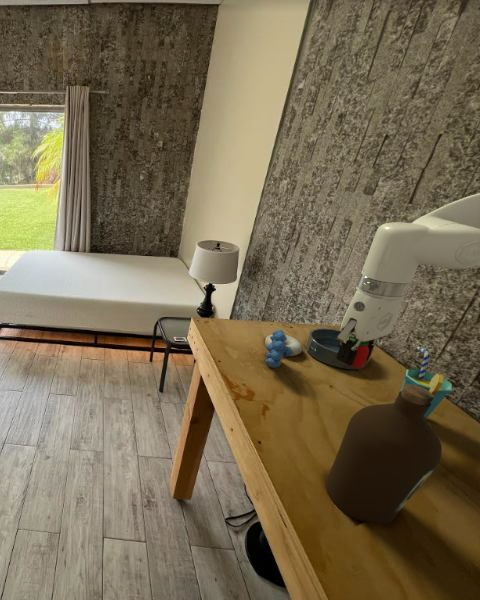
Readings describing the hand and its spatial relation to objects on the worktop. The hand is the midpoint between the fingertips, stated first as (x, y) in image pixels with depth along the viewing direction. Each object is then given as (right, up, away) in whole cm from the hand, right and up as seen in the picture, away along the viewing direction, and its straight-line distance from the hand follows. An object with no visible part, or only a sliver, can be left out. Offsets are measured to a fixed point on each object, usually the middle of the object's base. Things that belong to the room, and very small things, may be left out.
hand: (352, 358), depth 72 cm
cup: (+16, -14, +3) cm, 21 cm away
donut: (+2, -2, +28) cm, 28 cm away
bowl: (+16, -3, +24) cm, 29 cm away
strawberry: (0, -1, 0) cm, 1 cm away
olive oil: (-12, -23, -15) cm, 30 cm away
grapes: (-6, -6, +20) cm, 21 cm away
